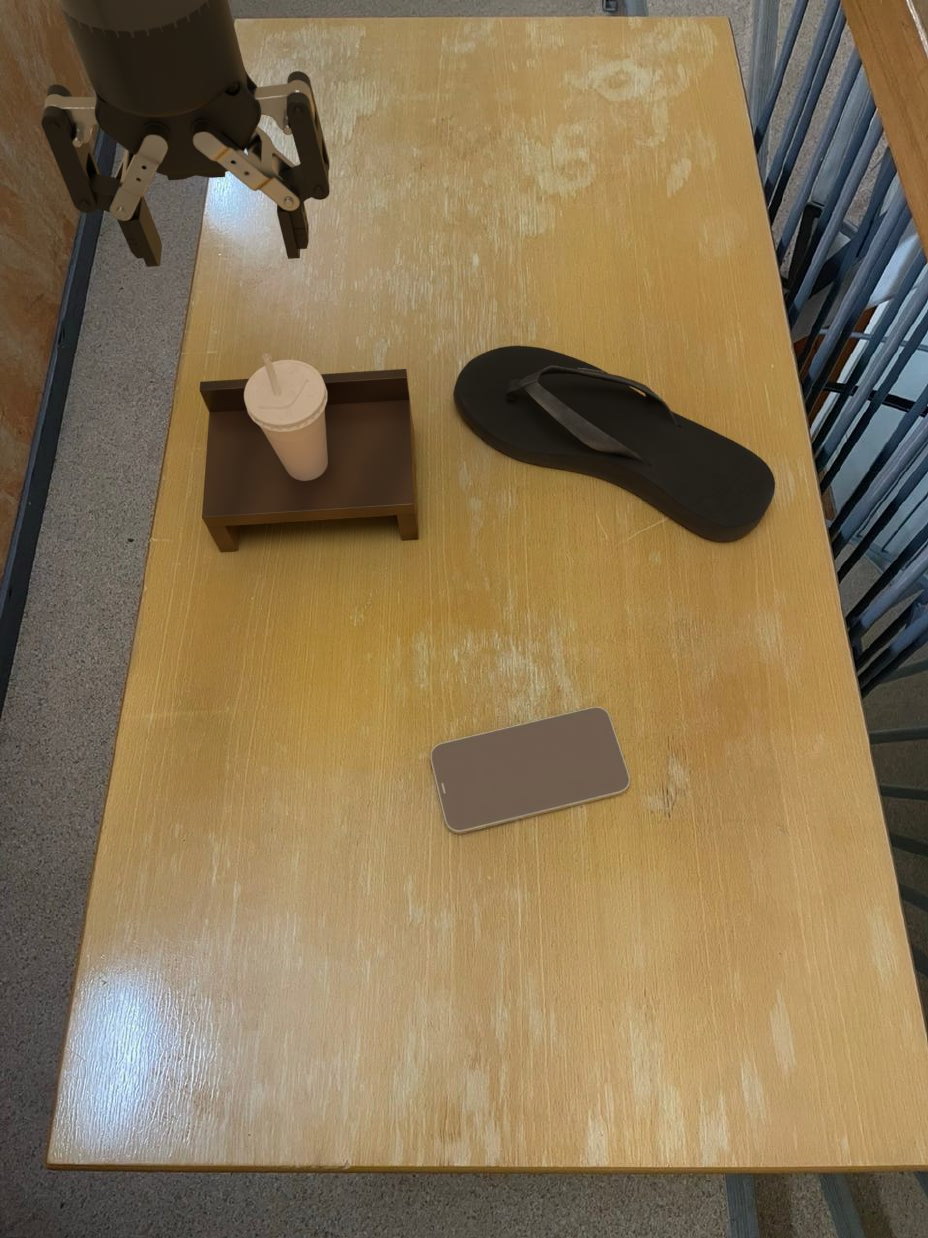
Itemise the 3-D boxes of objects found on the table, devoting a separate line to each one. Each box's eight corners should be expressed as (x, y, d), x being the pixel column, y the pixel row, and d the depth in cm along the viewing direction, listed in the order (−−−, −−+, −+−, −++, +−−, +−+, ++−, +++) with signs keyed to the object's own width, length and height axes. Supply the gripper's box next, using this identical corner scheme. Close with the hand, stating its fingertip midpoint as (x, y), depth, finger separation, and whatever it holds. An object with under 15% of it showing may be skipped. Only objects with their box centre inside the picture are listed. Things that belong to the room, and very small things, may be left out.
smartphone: (634, 789, 72) (448, 835, 71) (632, 792, 73) (448, 838, 72) (605, 703, 75) (427, 745, 74) (604, 706, 76) (427, 748, 75)
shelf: (220, 552, 83) (190, 498, 75) (226, 442, 88) (199, 381, 80) (418, 539, 83) (411, 484, 75) (413, 431, 88) (406, 368, 80)
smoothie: (255, 459, 80) (211, 349, 67) (314, 420, 82) (282, 304, 69) (298, 507, 78) (261, 402, 65) (358, 465, 79) (333, 355, 67)
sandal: (747, 556, 82) (768, 517, 76) (432, 439, 88) (428, 394, 82) (788, 448, 86) (811, 403, 80) (487, 344, 92) (487, 295, 86)
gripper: (-36, 32, 40) (103, 306, 55) (291, 14, 40) (342, 291, 55) (-9, -68, 43) (115, 216, 58) (294, -85, 43) (341, 202, 58)
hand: (225, 252), depth 56 cm, fingers open, 8 cm apart
